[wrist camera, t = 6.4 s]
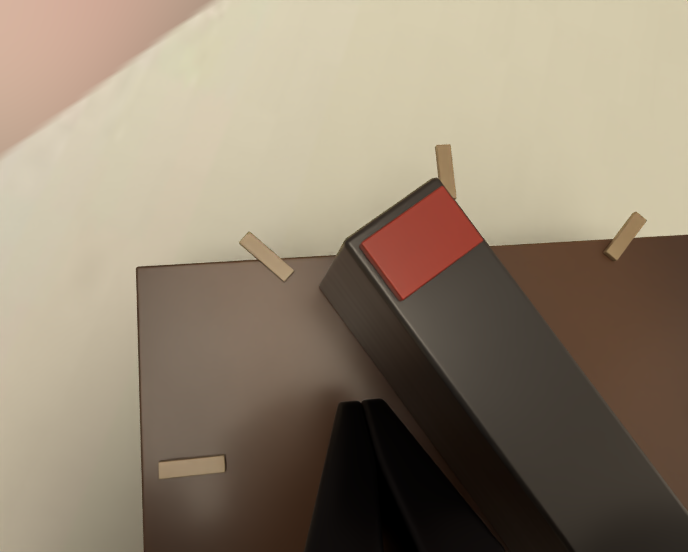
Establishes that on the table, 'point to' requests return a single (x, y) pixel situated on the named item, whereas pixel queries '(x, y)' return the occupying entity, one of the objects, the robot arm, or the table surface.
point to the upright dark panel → (497, 386)
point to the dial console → (366, 376)
